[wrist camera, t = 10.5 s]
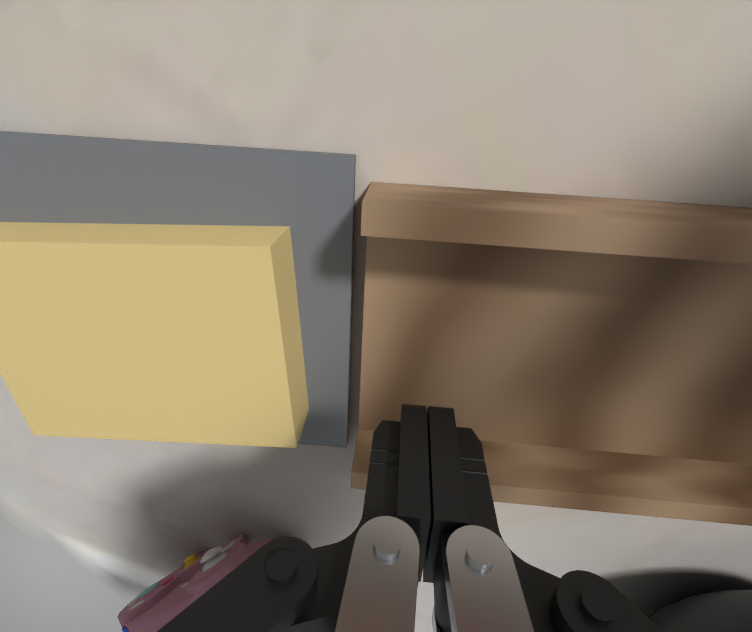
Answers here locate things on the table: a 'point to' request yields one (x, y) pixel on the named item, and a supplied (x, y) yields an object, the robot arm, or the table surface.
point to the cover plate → (153, 332)
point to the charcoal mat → (213, 223)
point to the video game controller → (185, 585)
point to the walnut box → (567, 343)
